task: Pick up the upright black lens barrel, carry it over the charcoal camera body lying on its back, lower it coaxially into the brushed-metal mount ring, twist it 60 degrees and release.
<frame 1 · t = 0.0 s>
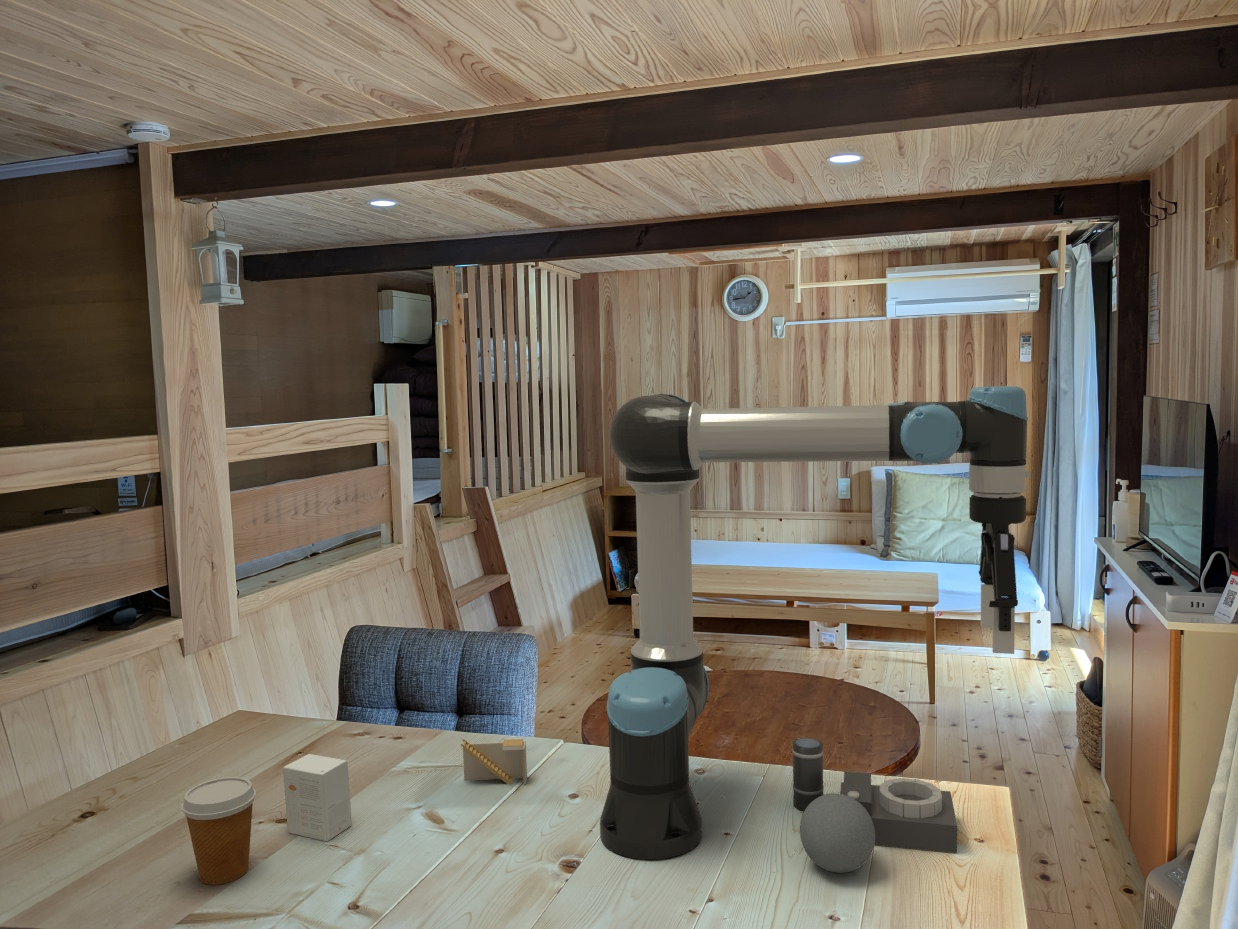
hand: (996, 639, 132), 28 cm above the table, fingers open, 13 cm apart
model: (495, 786, 154), on the table
disposable coffee cup: (224, 874, 127), on the table
lens: (808, 805, 142), on the table
camera body: (896, 829, 134), on the table
small box: (319, 831, 139), on the table
decorative stone: (837, 869, 124), on the table
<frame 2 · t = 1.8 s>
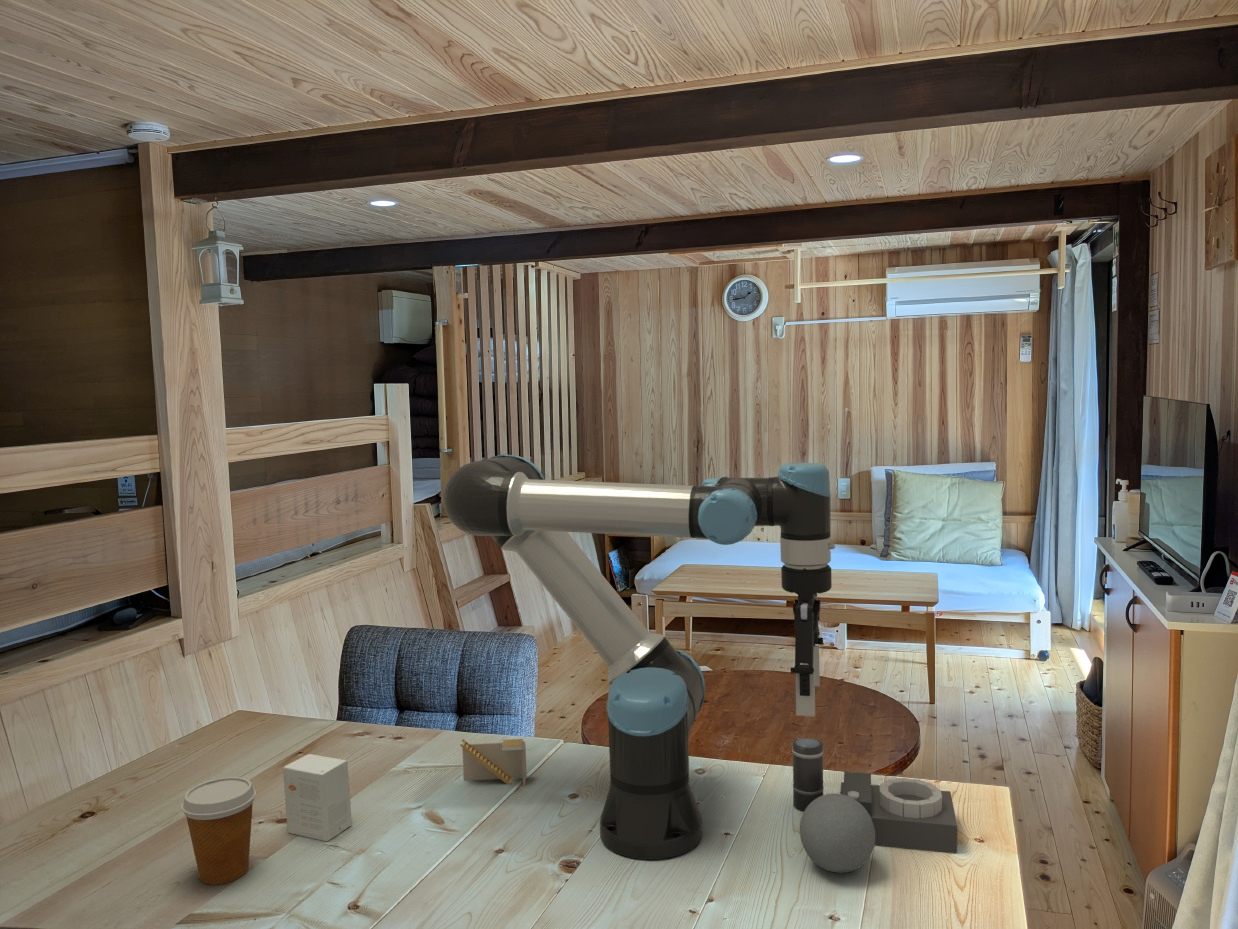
hand: (808, 699, 141), 17 cm above the table, fingers open, 13 cm apart
nothing on the table moved.
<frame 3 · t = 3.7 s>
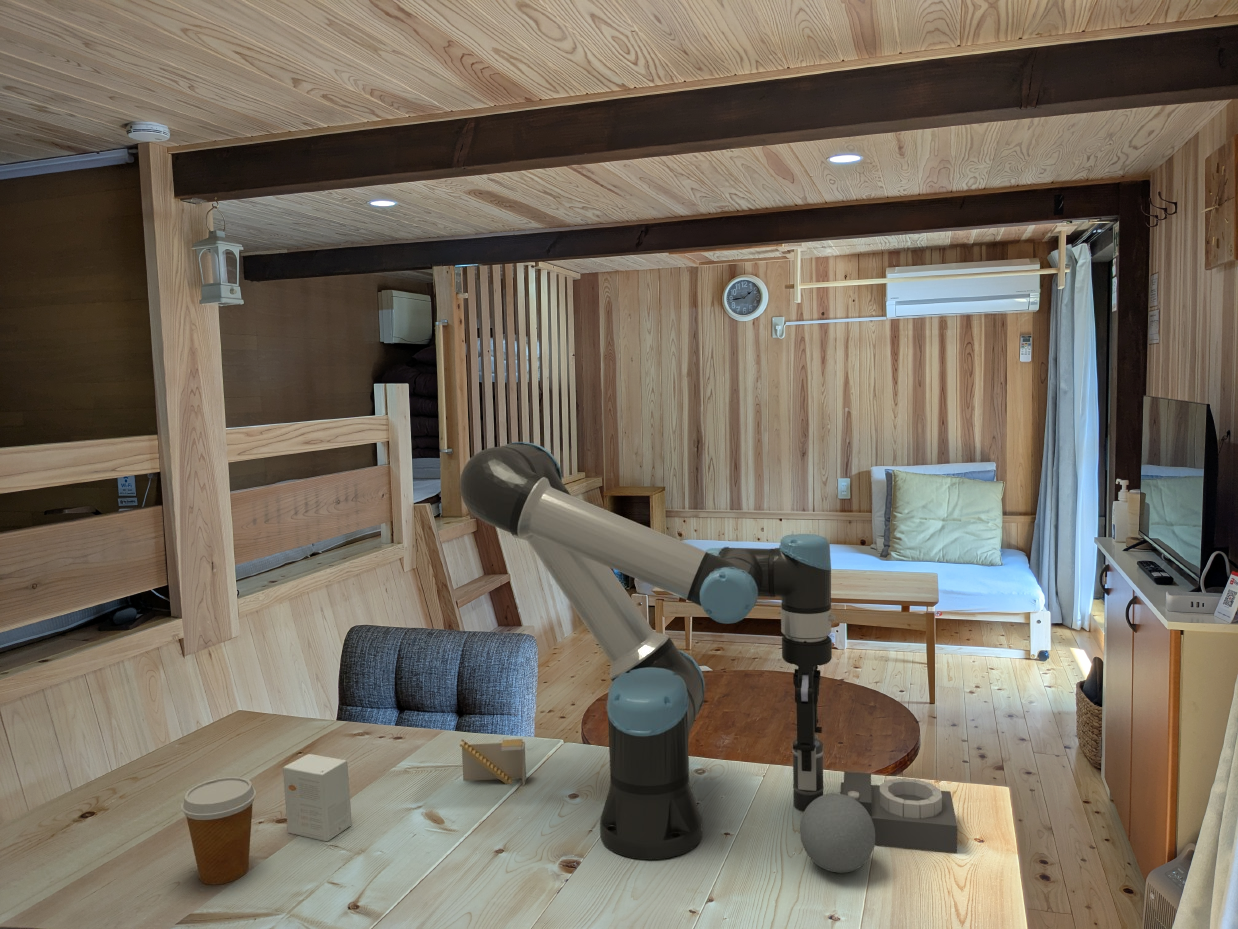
hand: (808, 781, 142), 4 cm above the table, fingers closed on lens, 5 cm apart
lens: (808, 805, 142), on the table, touching gripper
everything else where it was.
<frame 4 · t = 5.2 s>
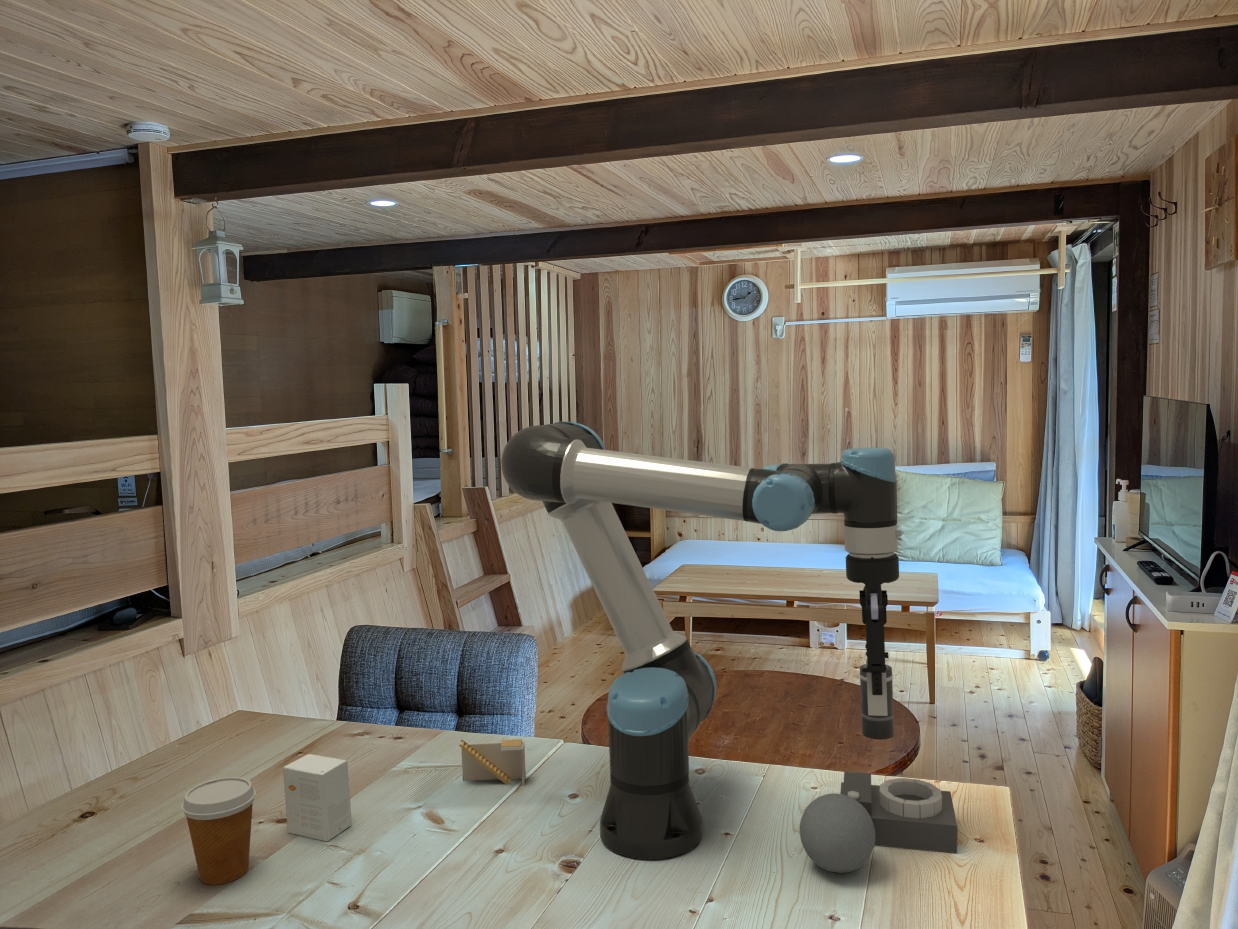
hand: (877, 708, 135), 18 cm above the table, fingers closed on lens, 5 cm apart
lens: (878, 733, 135), point 14 cm above the table, touching gripper
everything else where it was.
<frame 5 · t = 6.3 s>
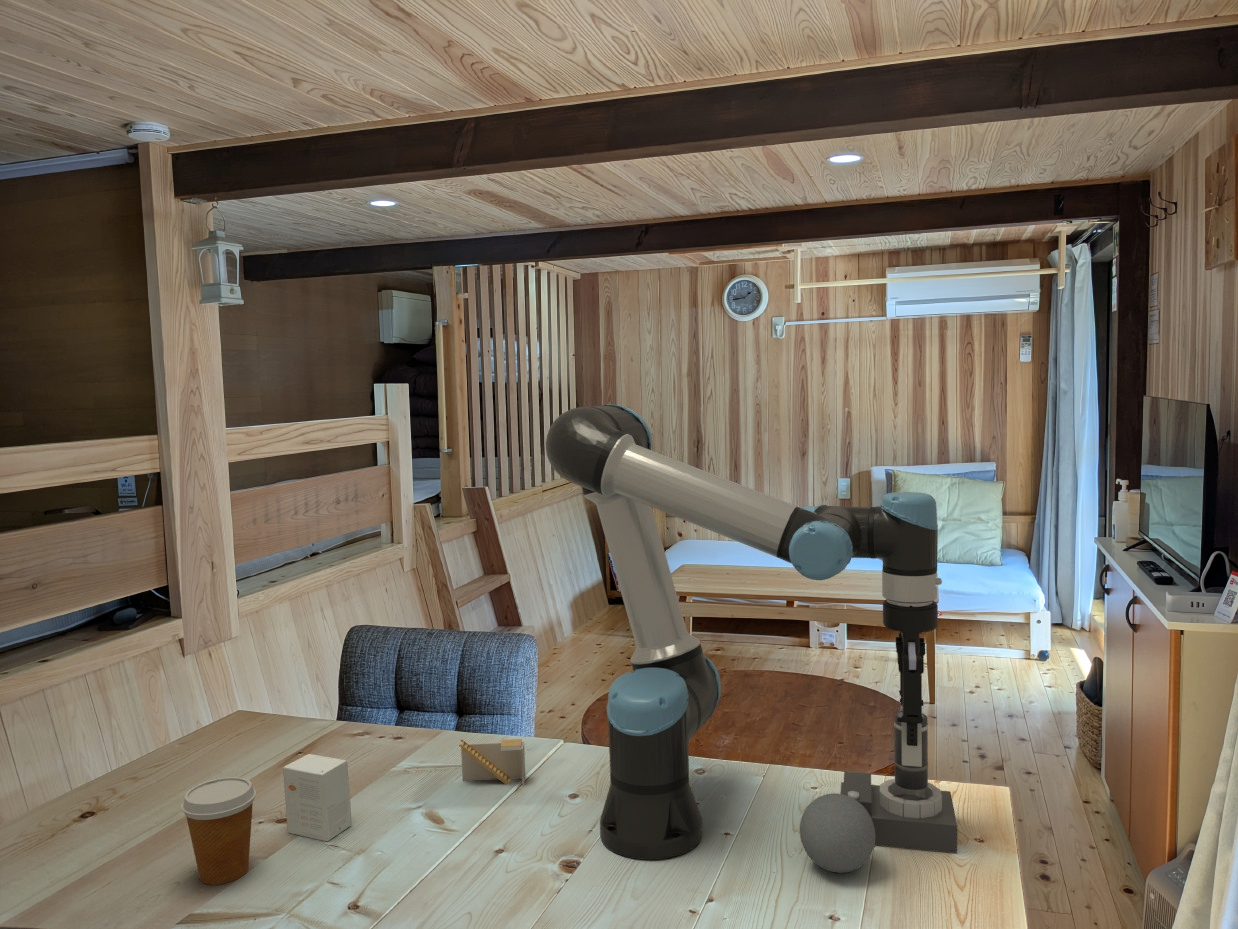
hand: (910, 757, 132), 11 cm above the table, fingers closed on lens, 5 cm apart
lens: (911, 783, 133), point 7 cm above the table, touching gripper
everything else where it was.
when the fingers open (11 cm above the table, at t = 7.2 s): lens drops 3 cm, resting on camera body.
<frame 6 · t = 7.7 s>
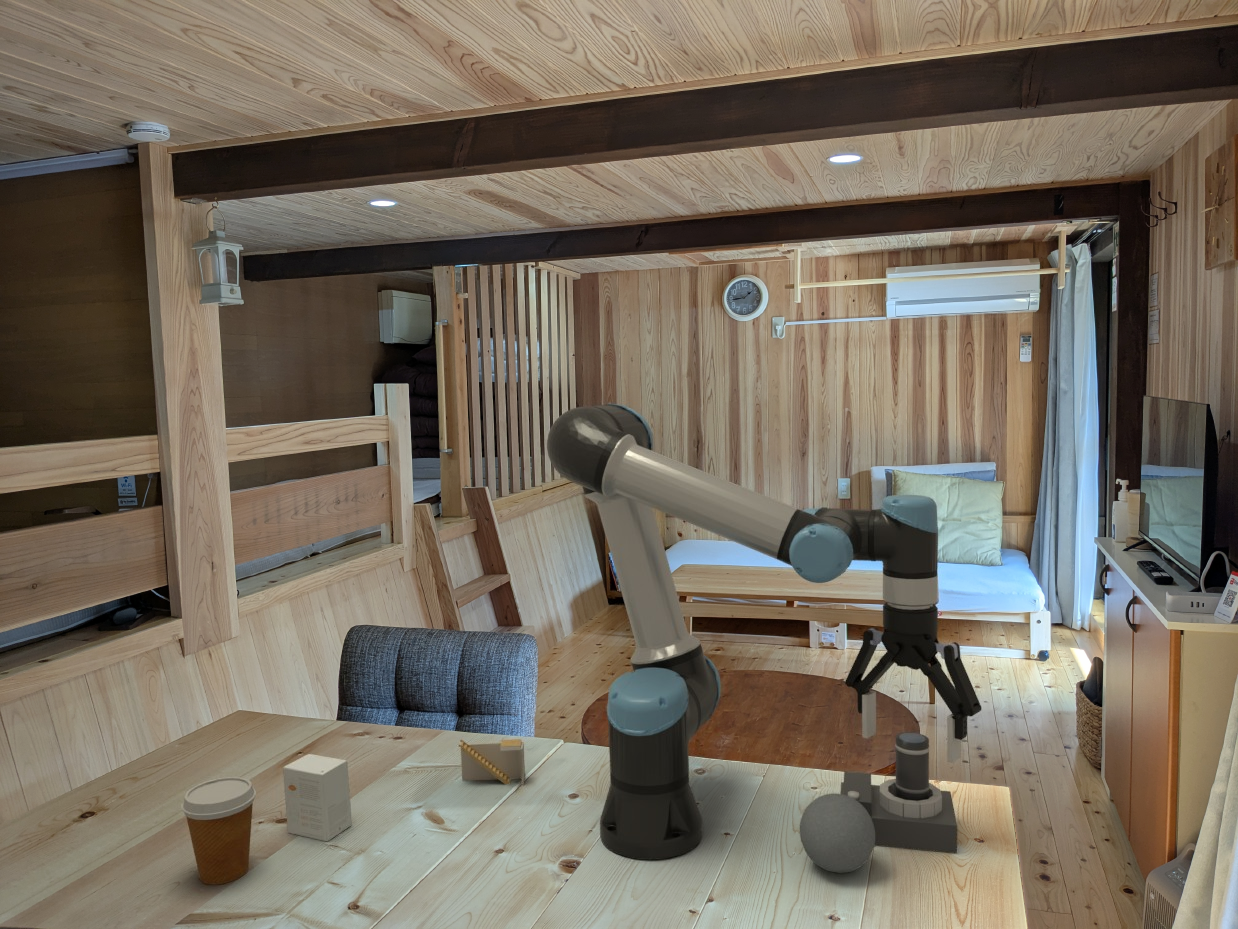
hand: (910, 747, 132), 13 cm above the table, fingers open, 13 cm apart
lens: (912, 804, 133), point 4 cm above the table, touching camera body
everything else where it was.
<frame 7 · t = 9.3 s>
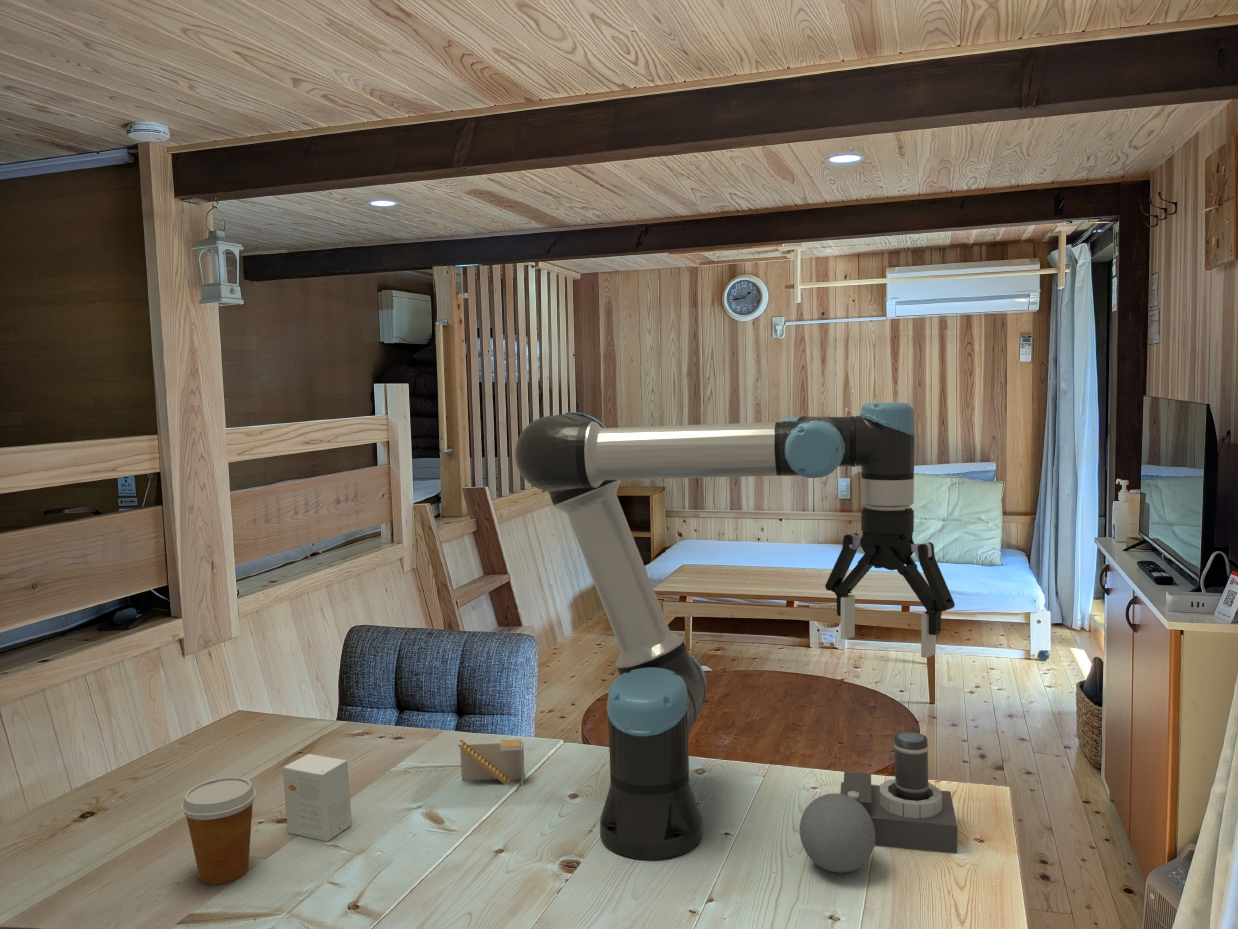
hand: (886, 646, 137), 26 cm above the table, fingers open, 13 cm apart
nothing on the table moved.
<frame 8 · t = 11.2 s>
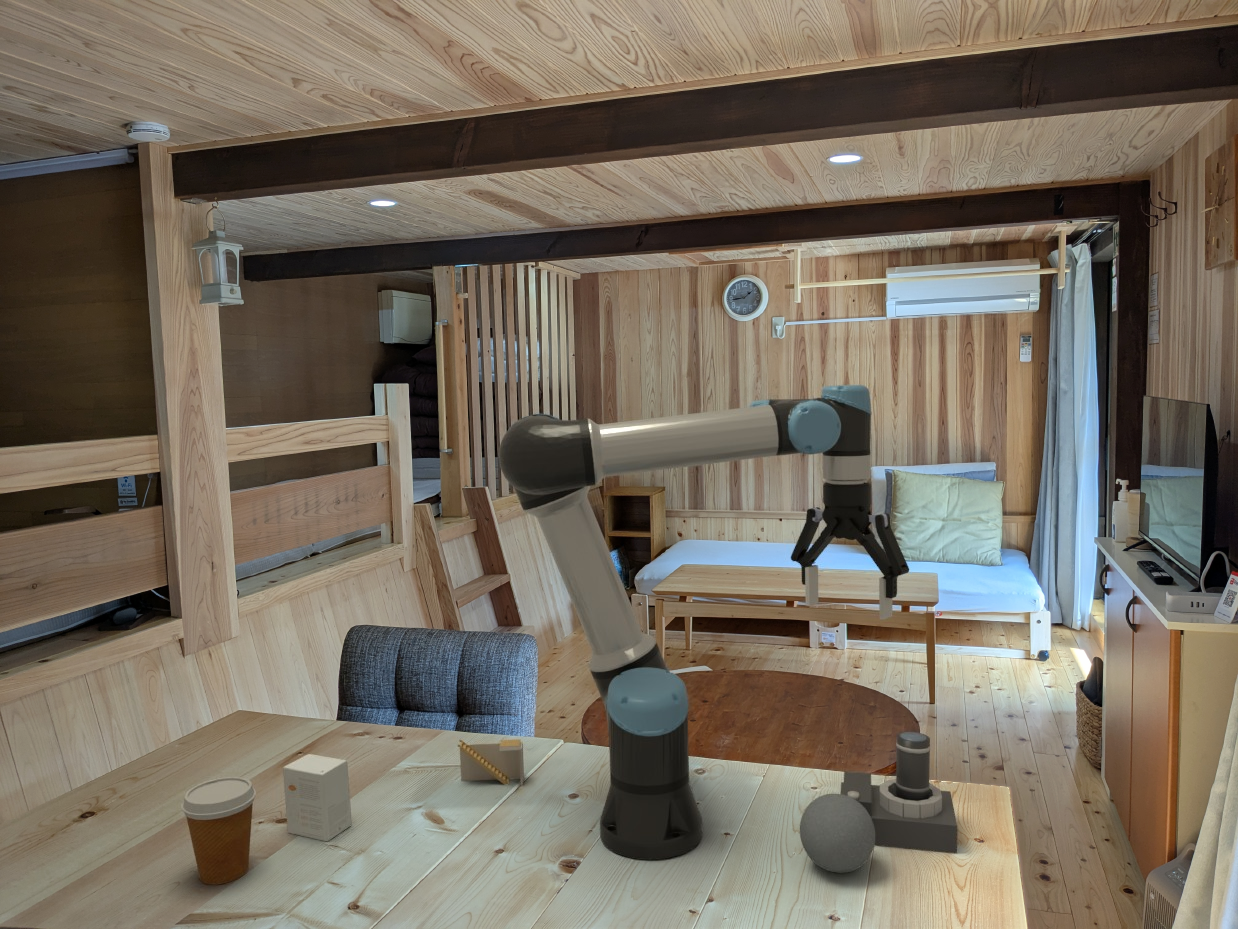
hand: (847, 611, 148), 29 cm above the table, fingers open, 13 cm apart
nothing on the table moved.
at the end: lens 0.3 cm from the target spot on the camera body, point 4.1 cm above the camera body's base; lens tilted 2°; the gripper is holding nothing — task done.
